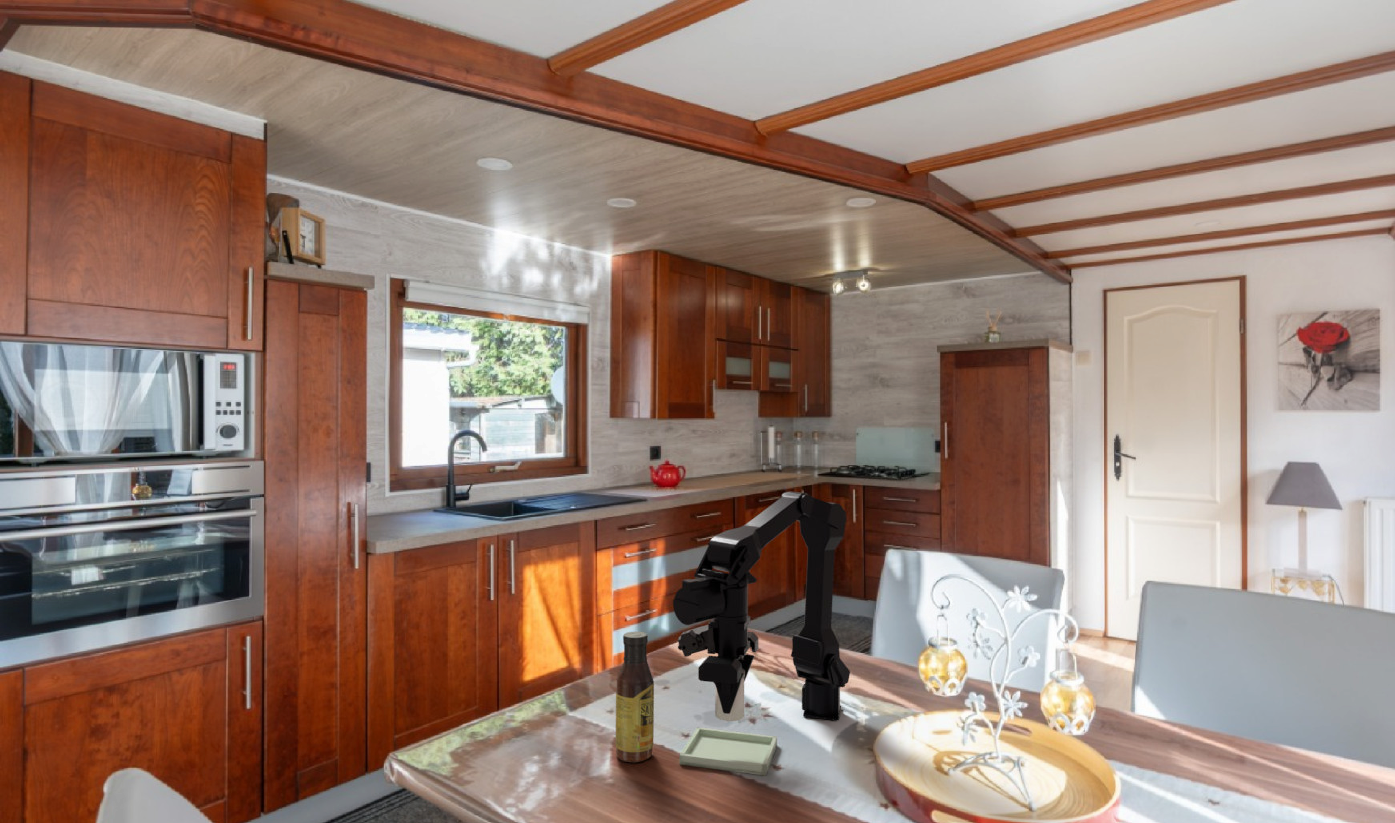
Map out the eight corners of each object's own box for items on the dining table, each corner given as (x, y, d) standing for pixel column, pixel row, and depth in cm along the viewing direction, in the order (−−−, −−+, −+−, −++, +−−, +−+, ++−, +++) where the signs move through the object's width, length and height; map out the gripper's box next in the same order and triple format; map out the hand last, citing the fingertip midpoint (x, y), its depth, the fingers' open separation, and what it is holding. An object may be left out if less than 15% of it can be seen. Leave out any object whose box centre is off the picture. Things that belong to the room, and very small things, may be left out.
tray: (777, 745, 129) (777, 736, 129) (765, 775, 118) (765, 765, 118) (697, 735, 132) (697, 727, 132) (679, 764, 122) (679, 754, 122)
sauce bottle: (647, 766, 121) (648, 641, 121) (610, 762, 122) (610, 639, 122) (658, 748, 127) (658, 630, 127) (622, 744, 129) (622, 627, 128)
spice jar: (747, 710, 127) (747, 667, 127) (741, 722, 122) (741, 677, 122) (718, 707, 128) (718, 664, 128) (711, 719, 123) (711, 674, 123)
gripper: (698, 596, 136) (697, 682, 136) (666, 624, 118) (666, 724, 118) (759, 600, 133) (759, 688, 133) (736, 630, 115) (736, 732, 115)
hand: (730, 707), depth 125 cm, fingers closed on spice jar, 5 cm apart
